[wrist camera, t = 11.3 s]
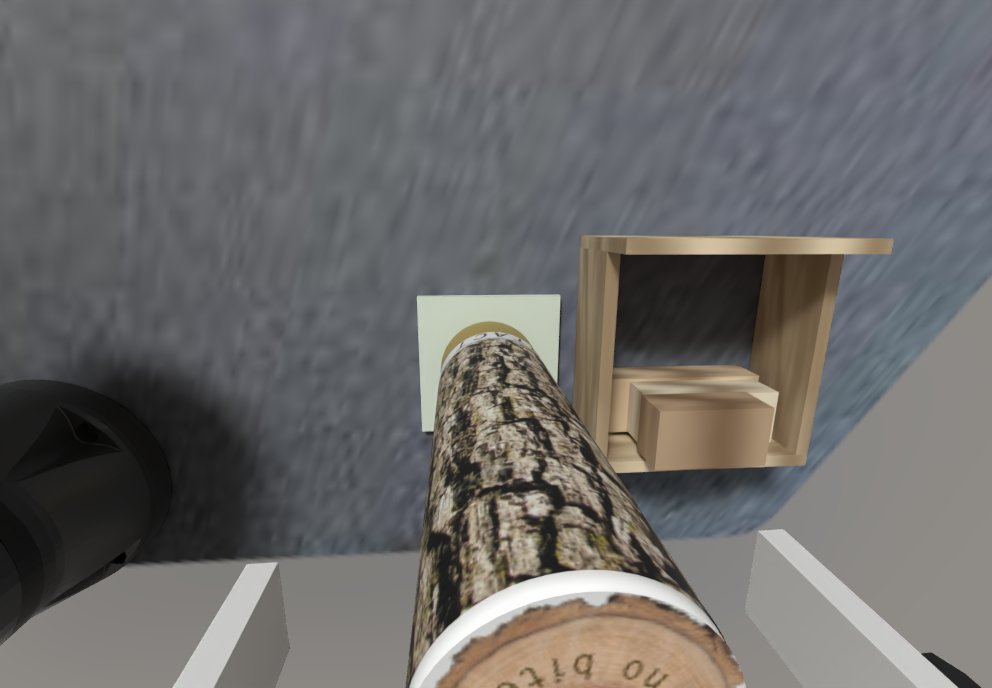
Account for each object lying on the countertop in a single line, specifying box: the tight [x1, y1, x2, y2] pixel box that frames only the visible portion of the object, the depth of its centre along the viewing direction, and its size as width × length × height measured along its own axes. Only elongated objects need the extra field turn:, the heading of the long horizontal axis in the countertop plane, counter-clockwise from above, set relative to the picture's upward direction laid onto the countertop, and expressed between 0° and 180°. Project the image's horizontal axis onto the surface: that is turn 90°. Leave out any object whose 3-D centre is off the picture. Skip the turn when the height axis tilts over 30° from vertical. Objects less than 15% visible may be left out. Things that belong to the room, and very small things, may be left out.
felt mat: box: [417, 295, 560, 431], centre depth 33 cm, size 10×10×1 cm
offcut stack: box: [609, 365, 779, 471], centre depth 31 cm, size 11×4×8 cm, turn 90°
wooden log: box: [406, 321, 746, 688], centre depth 21 cm, size 7×7×25 cm
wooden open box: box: [573, 236, 894, 473], centre depth 30 cm, size 15×15×9 cm
